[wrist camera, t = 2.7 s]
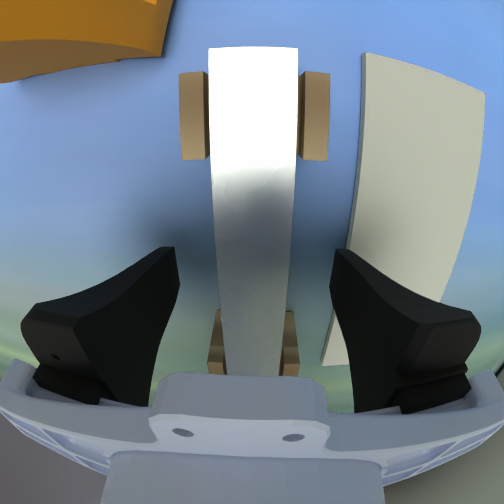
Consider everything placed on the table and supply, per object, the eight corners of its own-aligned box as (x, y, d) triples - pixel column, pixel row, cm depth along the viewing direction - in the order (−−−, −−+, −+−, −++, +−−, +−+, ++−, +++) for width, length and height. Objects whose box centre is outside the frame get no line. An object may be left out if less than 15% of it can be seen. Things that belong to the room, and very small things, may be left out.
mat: (410, 351, 19) (412, 356, 19) (320, 360, 19) (321, 366, 19) (478, 92, 10) (484, 93, 9) (361, 54, 10) (365, 52, 9)
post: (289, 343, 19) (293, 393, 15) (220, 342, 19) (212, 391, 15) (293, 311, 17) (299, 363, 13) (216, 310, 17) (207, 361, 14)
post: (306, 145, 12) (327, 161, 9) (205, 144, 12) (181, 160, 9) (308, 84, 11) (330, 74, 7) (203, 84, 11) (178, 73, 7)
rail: (272, 382, 16) (273, 414, 14) (234, 381, 16) (232, 413, 14) (288, 62, 8) (297, 48, 6) (220, 62, 8) (208, 48, 6)
